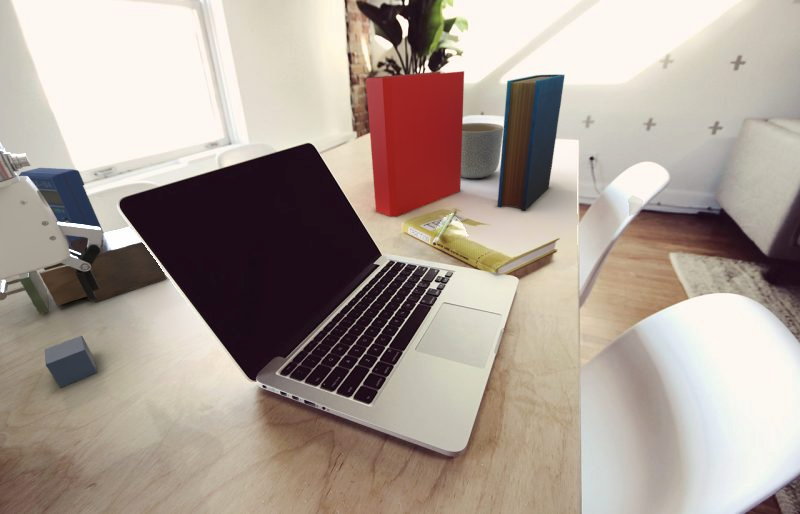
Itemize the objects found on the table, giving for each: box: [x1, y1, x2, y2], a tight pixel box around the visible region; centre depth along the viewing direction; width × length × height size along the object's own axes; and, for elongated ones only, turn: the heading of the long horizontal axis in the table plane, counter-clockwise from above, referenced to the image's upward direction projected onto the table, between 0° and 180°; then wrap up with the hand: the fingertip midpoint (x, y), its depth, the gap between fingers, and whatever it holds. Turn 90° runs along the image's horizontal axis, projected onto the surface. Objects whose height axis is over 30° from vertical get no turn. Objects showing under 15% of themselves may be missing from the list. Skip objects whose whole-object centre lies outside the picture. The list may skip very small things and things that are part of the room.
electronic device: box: [18, 167, 105, 249], centre depth 75 cm, size 10×5×20 cm, turn 73°
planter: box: [461, 122, 504, 180], centre depth 124 cm, size 17×17×15 cm
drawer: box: [0, 249, 87, 315], centre depth 66 cm, size 14×9×7 cm, turn 131°
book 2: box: [497, 74, 566, 212], centre depth 101 cm, size 24×9×30 cm, turn 146°
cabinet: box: [70, 226, 167, 303], centre depth 72 cm, size 11×10×8 cm
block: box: [44, 335, 98, 389], centre depth 51 cm, size 4×4×4 cm
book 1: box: [365, 70, 465, 217], centre depth 100 cm, size 27×8×32 cm, turn 135°
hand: (44, 312), depth 47 cm, fingers open, 9 cm apart
